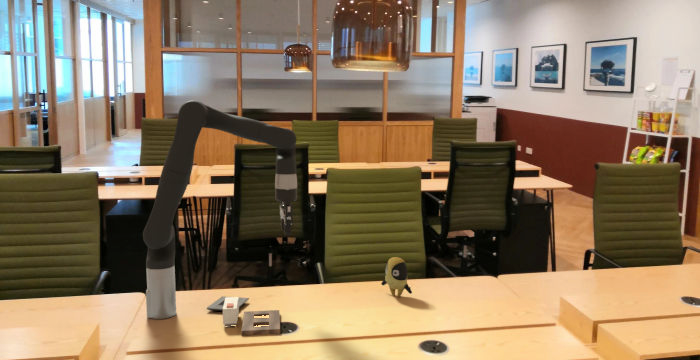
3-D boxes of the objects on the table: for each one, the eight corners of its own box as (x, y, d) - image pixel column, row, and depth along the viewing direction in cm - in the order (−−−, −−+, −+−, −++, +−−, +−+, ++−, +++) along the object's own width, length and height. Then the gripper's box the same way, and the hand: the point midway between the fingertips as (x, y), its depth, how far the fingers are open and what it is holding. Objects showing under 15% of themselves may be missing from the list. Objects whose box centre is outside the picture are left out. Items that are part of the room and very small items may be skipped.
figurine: (403, 303, 218) (404, 263, 216) (373, 293, 230) (373, 255, 228) (419, 298, 224) (419, 259, 222) (388, 289, 235) (389, 251, 234)
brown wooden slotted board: (241, 335, 188) (241, 330, 188) (244, 315, 206) (244, 311, 206) (280, 333, 190) (280, 328, 190) (279, 314, 207) (279, 310, 207)
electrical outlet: (235, 315, 208) (234, 308, 207) (206, 313, 210) (206, 306, 209) (249, 303, 220) (248, 297, 220) (222, 301, 222) (221, 295, 222)
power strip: (223, 328, 194) (222, 307, 193) (225, 315, 206) (225, 296, 205) (237, 327, 195) (236, 306, 194) (238, 315, 207) (238, 295, 206)
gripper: (272, 184, 213) (273, 229, 215) (277, 189, 199) (278, 237, 201) (293, 183, 215) (293, 228, 217) (300, 189, 201) (300, 236, 203)
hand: (286, 232), depth 209 cm, fingers open, 8 cm apart
